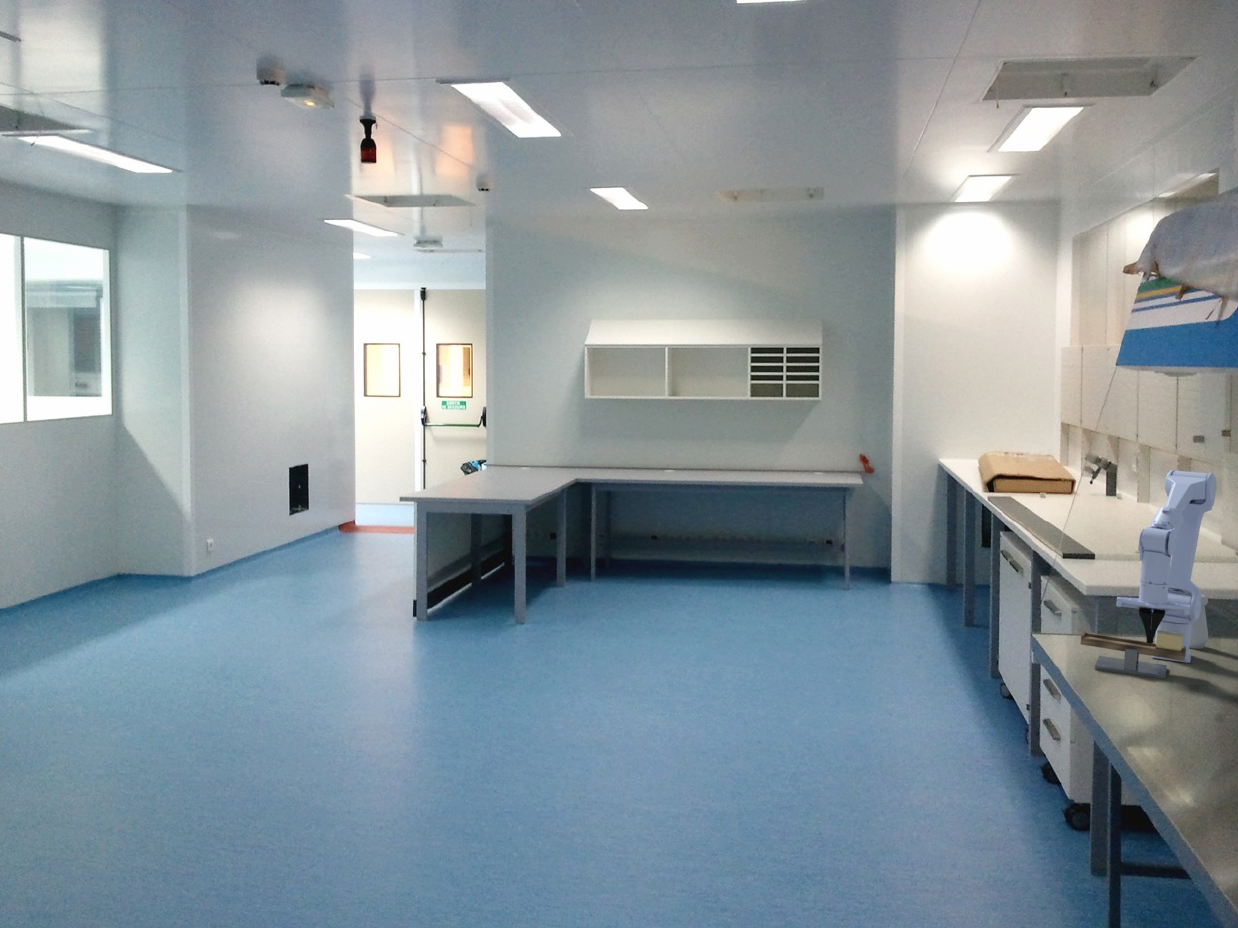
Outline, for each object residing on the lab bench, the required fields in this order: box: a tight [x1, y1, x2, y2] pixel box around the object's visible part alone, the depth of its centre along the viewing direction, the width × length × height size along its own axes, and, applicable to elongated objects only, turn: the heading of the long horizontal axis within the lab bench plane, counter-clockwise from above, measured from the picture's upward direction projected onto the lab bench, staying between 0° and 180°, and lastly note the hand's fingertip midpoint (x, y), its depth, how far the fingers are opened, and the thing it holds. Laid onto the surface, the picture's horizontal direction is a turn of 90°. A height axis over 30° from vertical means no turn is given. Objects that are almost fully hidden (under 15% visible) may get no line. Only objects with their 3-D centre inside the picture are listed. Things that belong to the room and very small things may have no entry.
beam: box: [1079, 630, 1186, 661], centre depth 241 cm, size 21×7×3 cm, turn 61°
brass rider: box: [1156, 630, 1183, 652], centre depth 237 cm, size 4×5×4 cm
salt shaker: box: [1189, 594, 1210, 650], centre depth 263 cm, size 6×6×13 cm
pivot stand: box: [1094, 648, 1168, 680], centre depth 241 cm, size 10×14×5 cm
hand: (1149, 642), depth 239 cm, fingers closed
